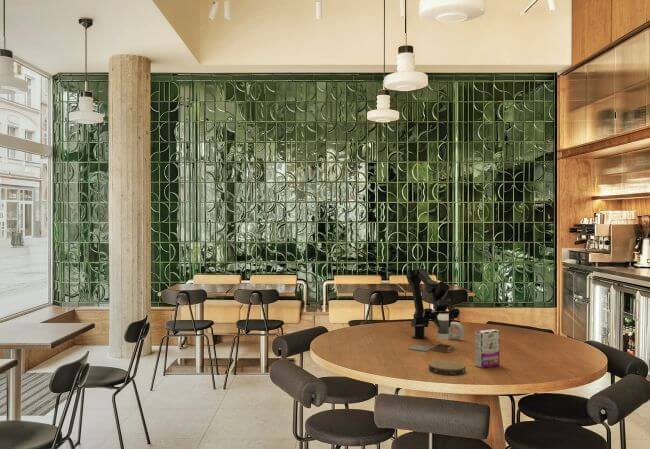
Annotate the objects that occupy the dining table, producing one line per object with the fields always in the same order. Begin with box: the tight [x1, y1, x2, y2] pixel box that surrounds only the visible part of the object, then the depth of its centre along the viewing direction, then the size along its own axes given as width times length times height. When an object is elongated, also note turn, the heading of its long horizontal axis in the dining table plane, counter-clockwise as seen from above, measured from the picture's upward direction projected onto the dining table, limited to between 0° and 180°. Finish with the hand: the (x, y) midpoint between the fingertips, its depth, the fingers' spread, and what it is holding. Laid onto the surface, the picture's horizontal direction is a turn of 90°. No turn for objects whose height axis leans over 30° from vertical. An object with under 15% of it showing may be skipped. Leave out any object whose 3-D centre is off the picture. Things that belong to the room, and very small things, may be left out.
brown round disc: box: [428, 359, 466, 376], centre depth 256 cm, size 16×16×3 cm
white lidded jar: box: [437, 313, 449, 341], centre depth 298 cm, size 6×6×13 cm
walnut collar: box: [431, 343, 455, 354], centre depth 298 cm, size 9×9×2 cm
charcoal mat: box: [407, 344, 432, 353], centre depth 300 cm, size 10×10×1 cm
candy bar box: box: [474, 328, 501, 369], centre depth 265 cm, size 11×5×16 cm, turn 117°
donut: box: [448, 321, 465, 340], centre depth 325 cm, size 10×3×10 cm, turn 64°
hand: (444, 326), depth 296 cm, fingers closed on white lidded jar, 6 cm apart
